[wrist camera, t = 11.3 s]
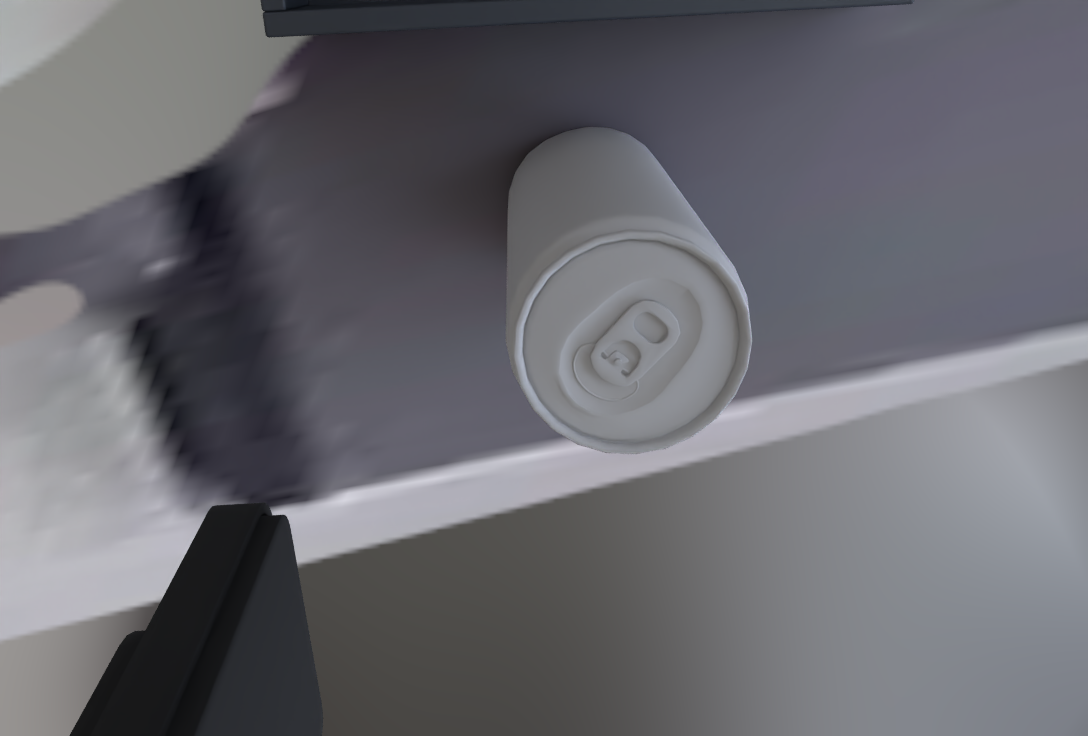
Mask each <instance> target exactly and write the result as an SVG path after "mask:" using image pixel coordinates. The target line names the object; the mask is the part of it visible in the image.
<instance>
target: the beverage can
mask: <svg viewBox="0 0 1088 736" xmlns="http://www.w3.org/2000/svg"><path fill="white" fill-rule="evenodd" d="M506 344H507V348H508V353H509V357H510V362H511V366H512V371H513V373H514V375H515V377H516V379H517V381H518V383H519V385H520V387H521V388H522V390H523V392H524V394H525V396H526V397H527V399H528V401H529V403H530V405H531V407H532V408H533V410H534V411H535V412H536V413H537V414H538V415H539V416H540V417H541V418H542V419H543V420H544V421H545V422H546V423H547V424H548V425H549V426H550V427H551V428H552V429H553V430H554V431H556V432H558V433H559V434H561V435H563V436H564V437H566V438H568V439H569V440H571V441H573V442H575V443H576V444H578V445H581V446H585V447H588V448H591V449H595V450H598V451H602V452H605V453H620V454H640V453H645V452H650V451H656V450H661V449H666V448H668V447H670V446H673V445H675V444H677V443H679V442H682V441H684V440H686V439H688V438H691V437H693V436H694V435H695V434H697V433H698V432H699V431H701V430H702V429H703V428H705V427H706V426H707V425H709V424H710V423H711V422H713V421H714V420H715V419H717V417H718V416H719V415H720V414H721V412H722V411H723V410H724V409H725V408H726V406H727V405H728V404H729V403H730V401H731V400H732V399H733V398H734V396H735V395H736V393H737V391H738V388H739V386H740V384H741V382H742V380H743V378H744V375H745V373H746V371H747V369H748V363H749V357H750V350H751V344H752V334H751V325H750V316H749V308H748V299H747V295H746V293H745V290H744V288H743V286H742V283H741V281H740V279H739V276H738V274H737V272H736V269H735V267H734V265H733V264H732V263H731V261H730V260H729V259H728V257H727V256H726V254H725V253H724V252H723V250H722V249H721V248H720V246H719V245H718V243H717V242H716V241H715V239H714V238H713V237H712V235H711V234H710V232H709V231H708V230H707V228H706V227H705V225H704V224H703V223H702V221H701V220H700V219H699V217H698V216H697V214H696V213H695V212H694V210H693V209H692V208H691V206H690V205H689V203H688V202H687V201H686V199H685V198H684V196H683V195H682V194H681V192H680V191H679V190H678V188H677V187H676V185H675V184H674V183H673V181H672V180H671V179H670V177H669V176H668V174H667V173H666V172H665V170H664V169H663V167H662V166H661V165H660V163H659V162H658V161H657V160H656V158H655V157H654V156H653V155H652V153H651V152H650V151H649V150H648V148H647V147H646V146H645V145H644V144H642V143H641V142H639V141H638V140H636V139H635V138H633V137H632V136H630V135H629V134H627V133H624V132H621V131H618V130H615V129H612V128H607V127H584V128H579V129H574V130H569V131H565V132H563V133H561V134H558V135H556V136H554V137H552V138H549V139H547V140H545V141H544V142H542V143H541V144H540V145H539V146H537V147H536V148H535V149H533V150H532V151H531V152H529V153H528V154H527V156H526V157H525V159H524V160H523V162H522V163H521V164H520V166H519V167H518V169H517V170H516V172H515V175H514V178H513V181H512V184H511V187H510V190H509V199H508V230H507V296H506Z"/></svg>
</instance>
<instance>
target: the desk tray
mask: <svg viewBox="0 0 1088 736" xmlns="http://www.w3.org/2000/svg"><path fill="white" fill-rule="evenodd" d="M913 2H914V0H261V6H262V10H263V11H265V12H264V13H263V19H264V26H265V32H266V36H267V37H285V36H305V35H324V34H343V33H363V32H382V31H401V30H420V29H440V28H459V27H478V26H497V25H517V24H536V23H555V22H574V21H594V20H613V19H632V18H651V17H670V16H690V15H709V14H728V13H747V12H767V11H786V10H805V9H824V8H844V7H863V6H882V5H901V4H912V3H913Z"/></svg>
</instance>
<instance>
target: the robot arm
mask: <svg viewBox="0 0 1088 736" xmlns="http://www.w3.org/2000/svg"><path fill="white" fill-rule="evenodd" d="M322 727H323V712H322V703H321V698H320V692H319V686H318V680H317V675H316V670H315V664H314V658H313V652H312V647H311V641H310V635H309V630H308V625H307V619H306V614H305V607H304V602H303V596H302V591H301V585H300V580H299V574H298V568H297V562H296V557H295V551H294V545H293V540H292V534H291V529H290V524H289V521H288V519H287V517H286V516H285V515H272V513H271V510H270V508H269V506H268V505H267V504H266V503H251V504H234V505H216V506H212V507H211V509H210V510H209V511H208V513H207V515H206V517H205V519H204V521H203V522H202V524H201V526H200V528H199V530H198V532H197V534H196V536H195V538H194V540H193V541H192V543H191V545H190V547H189V549H188V551H187V553H186V555H185V557H184V559H183V560H182V562H181V564H180V566H179V568H178V570H177V572H176V574H175V576H174V578H173V579H172V581H171V583H170V585H169V587H168V589H167V591H166V593H165V595H164V596H163V598H162V600H161V602H160V604H159V606H158V608H157V610H156V612H155V614H154V615H153V617H152V619H151V621H150V623H149V625H148V627H147V629H146V631H135V632H132V633H131V634H129V635H127V636H126V638H125V639H124V640H123V641H122V643H121V644H120V645H119V647H118V649H117V651H116V653H115V654H114V656H113V658H112V660H111V662H110V663H109V665H108V667H107V669H106V671H105V673H104V674H103V676H102V678H101V680H100V681H99V683H98V685H97V687H96V689H95V691H94V692H93V694H92V696H91V698H90V700H89V701H88V703H87V705H86V707H85V709H84V711H83V712H82V714H81V716H80V718H79V720H78V721H77V723H76V725H75V727H74V729H73V730H72V732H71V734H70V736H322Z"/></svg>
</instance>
